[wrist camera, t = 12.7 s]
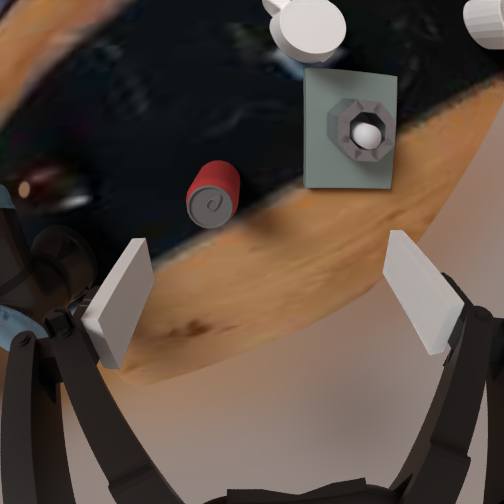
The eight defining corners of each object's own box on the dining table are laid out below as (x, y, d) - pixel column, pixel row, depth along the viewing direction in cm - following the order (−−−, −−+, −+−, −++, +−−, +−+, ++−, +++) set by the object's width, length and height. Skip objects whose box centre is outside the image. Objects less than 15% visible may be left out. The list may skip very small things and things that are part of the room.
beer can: (249, 177, 47) (249, 204, 37) (222, 208, 50) (214, 242, 39) (215, 150, 45) (204, 170, 35) (189, 183, 48) (172, 211, 37)
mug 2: (363, 33, 29) (320, 71, 32) (342, 43, 37) (306, 75, 40) (290, -32, 25) (244, 6, 28) (283, -10, 33) (245, 22, 36)
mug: (488, 59, 35) (525, 61, 26) (454, 17, 32) (490, 10, 23) (510, 25, 30) (544, 24, 21) (478, -15, 27) (512, -23, 18)
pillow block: (303, 183, 48) (314, 203, 40) (303, 68, 39) (315, 63, 31) (385, 185, 48) (409, 204, 40) (391, 76, 39) (419, 76, 31)
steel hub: (326, 151, 43) (337, 160, 38) (327, 97, 39) (338, 98, 34) (376, 153, 43) (393, 162, 38) (379, 101, 39) (396, 104, 34)
